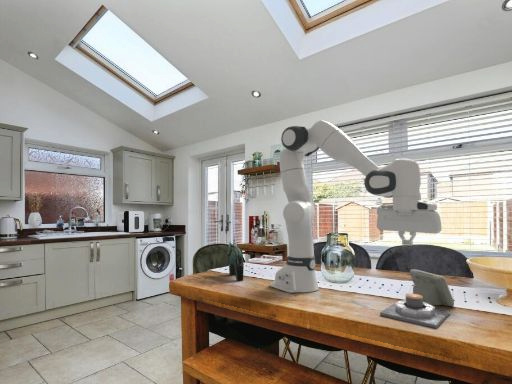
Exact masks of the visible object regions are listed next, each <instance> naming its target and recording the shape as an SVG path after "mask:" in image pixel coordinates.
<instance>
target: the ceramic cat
mask: <svg viewBox="0 0 512 384" xmlns="http://www.w3.org/2000/svg"><path fill="white" fill-rule="evenodd" d="M235 242H236V240H235V239H233V243H232V242H229V243H228V245H227V252H226V253H227V256H228V257H229V261H228V274H229V276H235V279H236V281H237V282H243V281H244V271H245V270H244V266H245V265H244V264H245V263H244V258H243V257H244V255H243V252H242V251H241V248H239V247H238V245H237V243H235Z"/></svg>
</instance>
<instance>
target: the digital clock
mask: <svg viewBox="0 0 512 384" xmlns="http://www.w3.org/2000/svg"><path fill="white" fill-rule="evenodd" d="M409 276H410V278H411V280H412V283H413V286H412V294H418V295H421V296H423V302H425V303H428V304H430V305H432V306H433V307H434V306H441V305H443V306H448V307H453V306H455V302H454V301H455V300H454V298H453V295H452V293H451V290H450V287H449V285H448V282H447V279H446V278H445V276H442V275H439V274H436V273H435V274H434V273H430V272H427V271H423V270H419V269H412V268H411V269H410V270H409Z"/></svg>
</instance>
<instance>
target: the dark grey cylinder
mask: <svg viewBox="0 0 512 384" xmlns="http://www.w3.org/2000/svg"><path fill="white" fill-rule="evenodd" d="M404 297H405V300H406V307H410V308H415V309H423V296H421V295H418V294H413V293H406V294H405V296H404Z"/></svg>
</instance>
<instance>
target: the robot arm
mask: <svg viewBox="0 0 512 384" xmlns="http://www.w3.org/2000/svg"><path fill="white" fill-rule="evenodd" d="M280 141H281V144H282V146H283V147H284V149H282V150H281V151H280V153H279V170H280V171H279V172H280V177H281V182H282V187H283V192H284V193H285V195H286V198H287V201H288V203H287V204H286V205H285V206H284V208H283V211H282V216H283V219H284V221H285V227H286V231H287V232H286V233H287V237H288V238H287V239H288V256H287V257H286V256H285V258H284V261H286V262H285V264H284V265H283V266H282V267H281V268H279V270H277V271H276V272H275V276H274V281H272V282H270V284H269V287H272V288H275V289H277V290H281V291H284V292H285V293H286V292H287V293H290V294H292V293H311V292H315V291H318V290H319V289H320V287H319V283H318V281H317V280H318V279H317V276H316V257H315V252H314V250H315V247H314V236H313V233H312V232H313V231H312V227H311V222H312V221H313V220H314V219H315V216H316V209H315V206H314V203H313V199H312V196H311V195H312V194H311V192H310V190H309V186H308V181H307V176H306V171H305V165H304V158H305V157H310V156H311V155H312V154H314V153H316V152H317V151H319V150H321V152H323V154H325V155H326V156H328V157H329V158H330V159H332V160H334V161H336V162H340V163H342V164H344V165H348V166H350V167H353V168H354V169H356V170H357V171H358V172H360V173H361V174H362V175H363V176H364V177H365V178H364V182H363V183H364V189H365V190H366V191H367V193H369V194H371V195H373V196H378V197H383V198H385V199H390V198H392V204H381V205H380V206H378V207H377V209H376V215H377V217H376V218H377V219H376V228H377V229H378V231H387V232H388V231H389V232H391V231H392V232H398V233H397V234H398V236H399V238H400V240H401V245H403V246H413V245H414V242H413V240H414V239H415V238H416V236H417V233H418V234H419V233H422V234H440V233H441V231H442V221H441V217H440V213H439V212H438V211H437V209H438V205H437V204H436V203H433V202H429V201H425V200H423V199H422V195H421V191H420V188H421V184H422V183H421V181H422V180H421V170H420V166H419V163H418V162H416V161H415V160H413V159H409V158H395V159H394V160H392V162H391V163H389V164H387V165H385V166H383V167H381V166H379V165H378V164H376V163H375V162H374V161H373V160H371V158H369V157H368V156H367V155H366V154H364V153H363V151H361V149H360V148H359V147H358V146H357V144H355V143H354V142H353V141H352V139H351V138H350V137H349V135H347V134H346V133H345V132H343V130H341V129H340V128H339V127H337V126H336V125H334V124H332V123H330V122H328V121H327V120H322V119H321V120H318V121H316V122H315V123H314V124H312V126H311V127H305V126H299V125H292V126H288V127H286V128H285V129H284V130H283V132H282V134H281V139H280ZM406 233H409V236H410V238H409V239H406V237H405V235H406Z"/></svg>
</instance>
